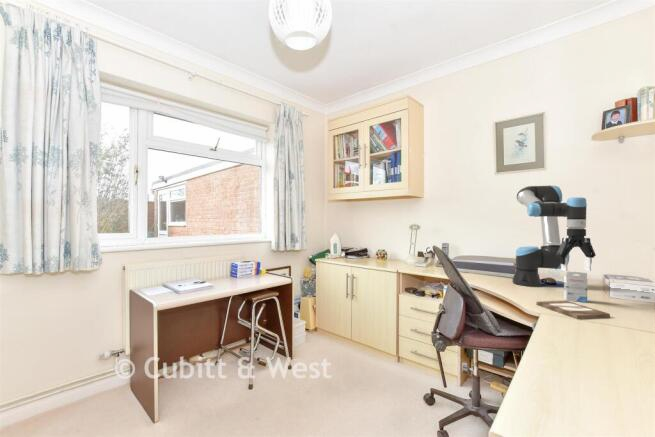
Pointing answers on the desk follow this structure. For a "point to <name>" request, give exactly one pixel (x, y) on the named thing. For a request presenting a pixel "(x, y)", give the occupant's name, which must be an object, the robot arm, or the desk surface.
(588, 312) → the stand board
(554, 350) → the desk surface
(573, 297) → the ink box
